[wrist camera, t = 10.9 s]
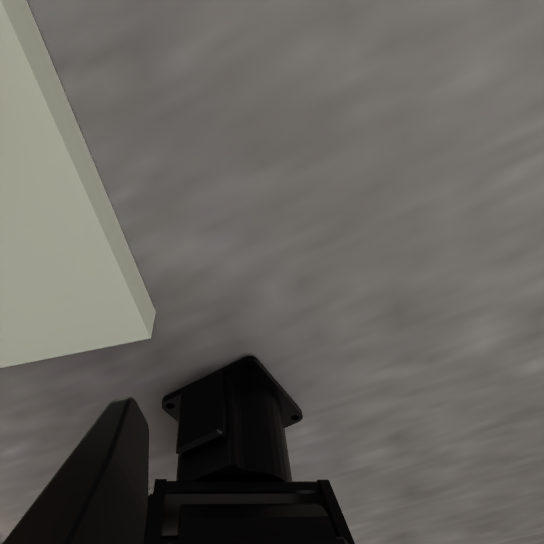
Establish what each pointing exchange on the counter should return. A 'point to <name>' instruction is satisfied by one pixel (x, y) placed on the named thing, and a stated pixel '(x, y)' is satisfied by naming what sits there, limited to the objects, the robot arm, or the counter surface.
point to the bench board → (55, 218)
